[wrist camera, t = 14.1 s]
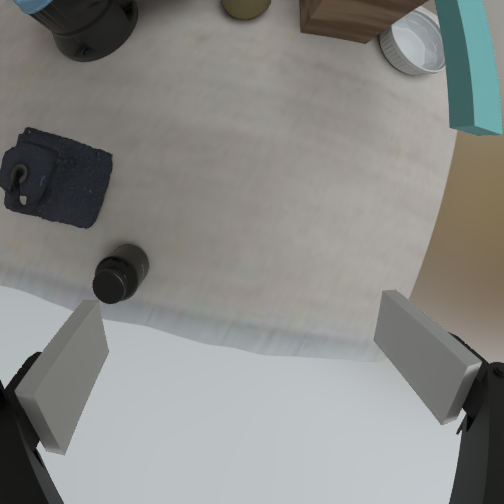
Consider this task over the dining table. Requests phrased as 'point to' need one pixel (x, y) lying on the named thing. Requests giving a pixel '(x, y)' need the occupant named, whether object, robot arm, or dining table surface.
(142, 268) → the supplement bottle
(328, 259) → the dining table surface
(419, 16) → the ramekin
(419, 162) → the dining table surface
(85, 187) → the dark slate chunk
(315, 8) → the post
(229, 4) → the squeeze bottle
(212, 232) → the dining table surface
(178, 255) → the dining table surface
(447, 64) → the peg
